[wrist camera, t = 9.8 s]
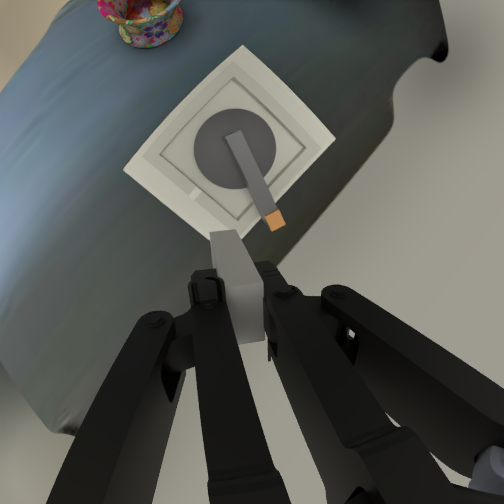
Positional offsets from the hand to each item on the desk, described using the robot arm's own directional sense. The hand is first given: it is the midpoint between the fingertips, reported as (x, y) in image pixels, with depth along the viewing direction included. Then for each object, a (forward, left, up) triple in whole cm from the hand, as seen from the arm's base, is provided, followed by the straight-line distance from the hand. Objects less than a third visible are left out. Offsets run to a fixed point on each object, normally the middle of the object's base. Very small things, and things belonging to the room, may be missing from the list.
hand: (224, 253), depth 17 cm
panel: (-6, -1, -23) cm, 24 cm away
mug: (-13, -23, -23) cm, 35 cm away
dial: (-6, +1, -21) cm, 22 cm away
